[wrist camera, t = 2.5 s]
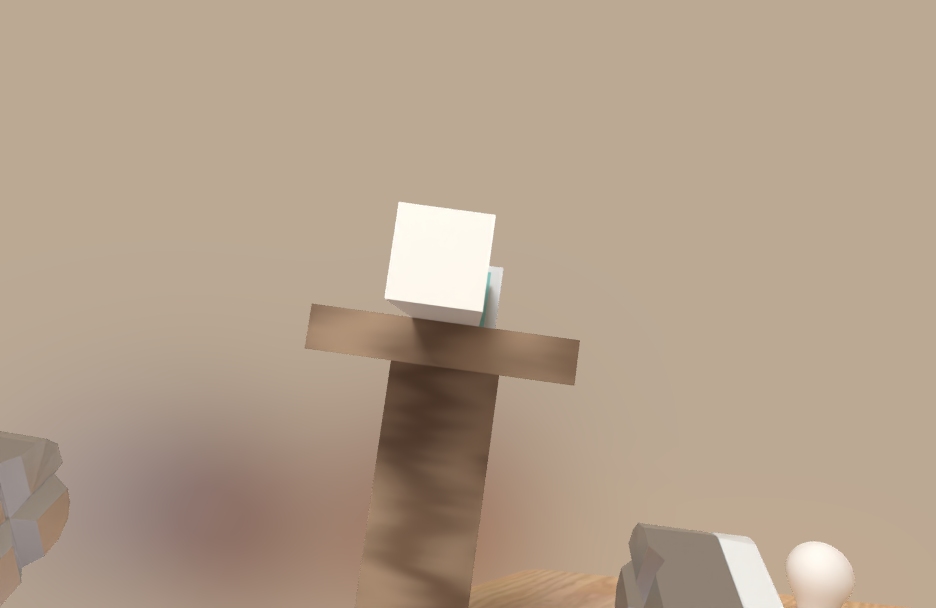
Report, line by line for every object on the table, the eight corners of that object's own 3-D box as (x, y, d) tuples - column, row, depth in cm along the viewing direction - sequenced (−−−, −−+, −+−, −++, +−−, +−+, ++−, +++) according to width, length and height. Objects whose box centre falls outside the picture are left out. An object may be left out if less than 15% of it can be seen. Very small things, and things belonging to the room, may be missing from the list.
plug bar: (491, 338, 42) (499, 278, 42) (515, 316, 19) (532, 187, 20) (415, 328, 42) (424, 268, 42) (351, 294, 19) (371, 166, 20)
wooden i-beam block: (490, 738, 42) (540, 346, 44) (502, 972, 26) (579, 340, 28) (310, 712, 42) (369, 323, 44) (212, 928, 26) (311, 303, 28)
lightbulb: (783, 658, 61) (793, 543, 62) (773, 635, 67) (783, 529, 68) (855, 677, 59) (864, 557, 60) (839, 651, 65) (848, 542, 66)
